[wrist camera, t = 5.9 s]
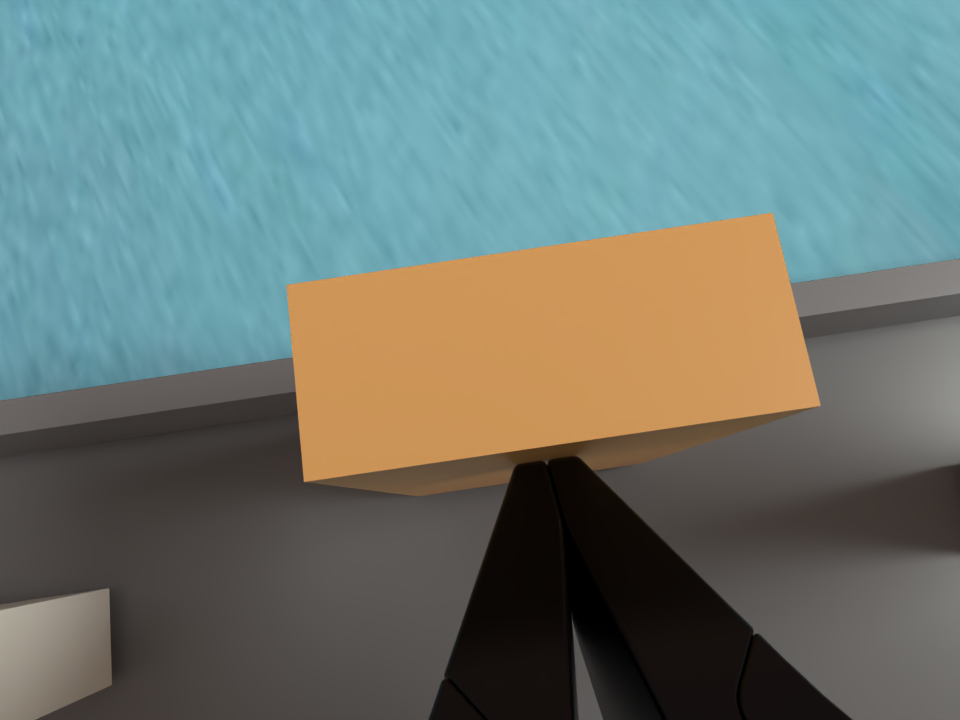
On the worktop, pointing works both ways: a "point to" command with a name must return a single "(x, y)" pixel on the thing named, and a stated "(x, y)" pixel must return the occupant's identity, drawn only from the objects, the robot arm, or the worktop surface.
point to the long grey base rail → (470, 521)
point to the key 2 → (53, 652)
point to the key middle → (546, 357)
